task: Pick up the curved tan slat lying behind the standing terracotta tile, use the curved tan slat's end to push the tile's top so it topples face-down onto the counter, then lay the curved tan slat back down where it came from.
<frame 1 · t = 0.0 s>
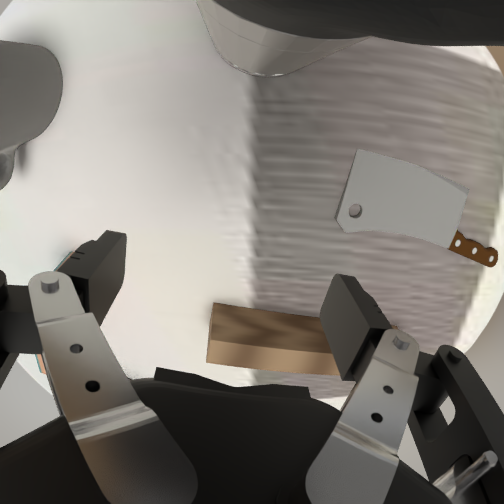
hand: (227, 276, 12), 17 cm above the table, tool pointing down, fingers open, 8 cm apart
curved tan slat: (310, 326, 36), on the table
kitchen cleaver: (437, 214, 31), on the table
coffee mug: (20, 110, 23), on the table
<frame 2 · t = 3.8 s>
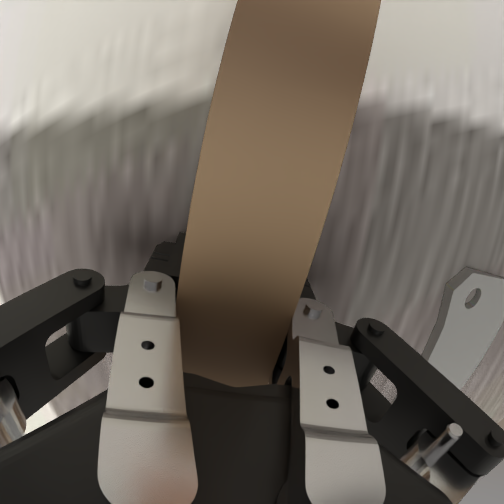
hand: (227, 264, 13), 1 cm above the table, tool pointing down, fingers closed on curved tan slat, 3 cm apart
curved tan slat: (228, 252, 14), on the table, touching gripper
kitchen cleaver: (411, 404, 21), on the table
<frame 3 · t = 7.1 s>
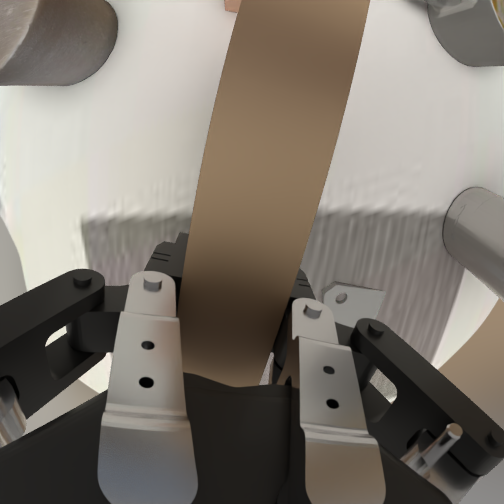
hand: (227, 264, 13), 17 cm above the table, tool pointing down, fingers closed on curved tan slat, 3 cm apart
curved tan slat: (229, 244, 15), point 15 cm above the table, touching gripper
pillar candle: (73, 41, 22), on the table
kitchen cleaver: (323, 361, 39), on the table
coffee mug: (450, 17, 22), on the table
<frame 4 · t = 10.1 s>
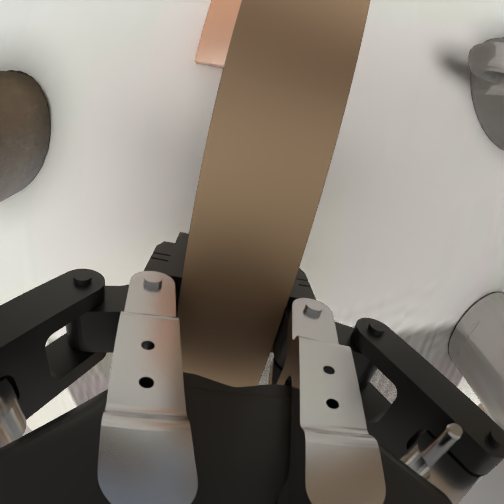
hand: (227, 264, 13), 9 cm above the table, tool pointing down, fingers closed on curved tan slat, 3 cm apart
curved tan slat: (229, 243, 15), point 7 cm above the table, touching gripper
tile: (261, 75, 17), on the table, tilted 90°
pillar candle: (4, 135, 18), on the table
coffee mug: (496, 84, 18), on the table
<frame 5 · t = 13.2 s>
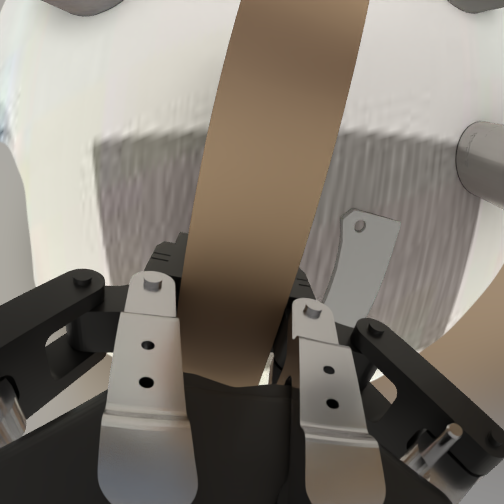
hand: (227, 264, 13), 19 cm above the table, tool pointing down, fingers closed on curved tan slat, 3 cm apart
curved tan slat: (229, 244, 15), point 17 cm above the table, touching gripper
kitchen cleaver: (341, 304, 38), on the table
when the fingers open (3 cm above the table, at t = 16.1 s): curved tan slat drops 1 cm, on the table.
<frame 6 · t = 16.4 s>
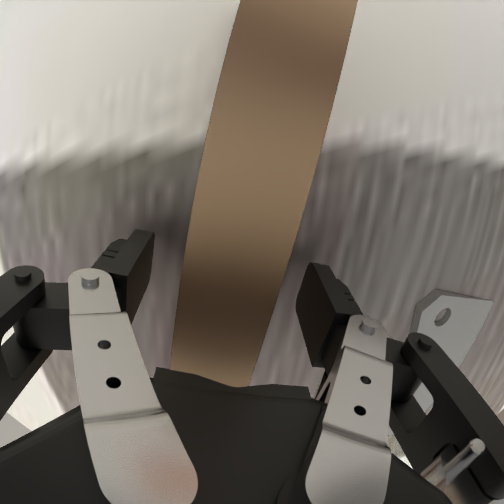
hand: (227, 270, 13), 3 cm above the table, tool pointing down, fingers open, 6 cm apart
curved tan slat: (227, 236, 16), on the table
kitchen cleaver: (390, 409, 23), on the table
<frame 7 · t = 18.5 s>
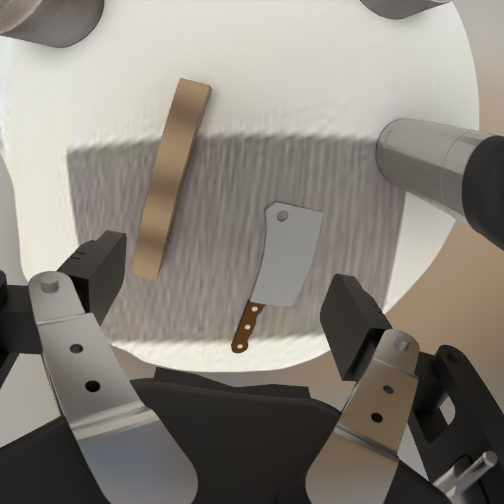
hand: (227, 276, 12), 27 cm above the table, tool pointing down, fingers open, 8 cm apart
curved tan slat: (172, 174, 37), on the table
pillar candle: (70, 15, 27), on the table
kitchen cleaver: (274, 285, 45), on the table
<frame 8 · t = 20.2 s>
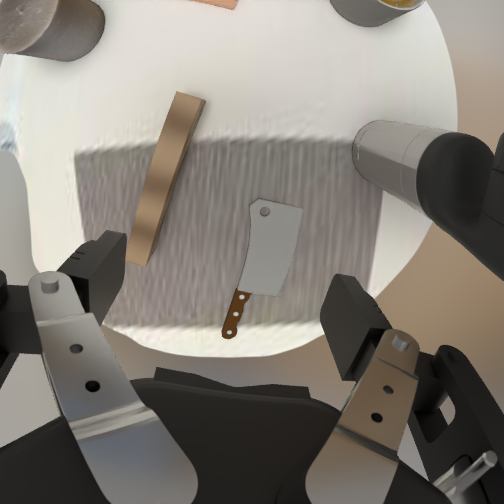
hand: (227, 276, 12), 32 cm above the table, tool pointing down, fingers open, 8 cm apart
curved tan slat: (167, 174, 42), on the table
tile: (204, 2, 32), on the table, tilted 90°
pillar candle: (75, 32, 32), on the table
kitchen cleaver: (260, 275, 49), on the table
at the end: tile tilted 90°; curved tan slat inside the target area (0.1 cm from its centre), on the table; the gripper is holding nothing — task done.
